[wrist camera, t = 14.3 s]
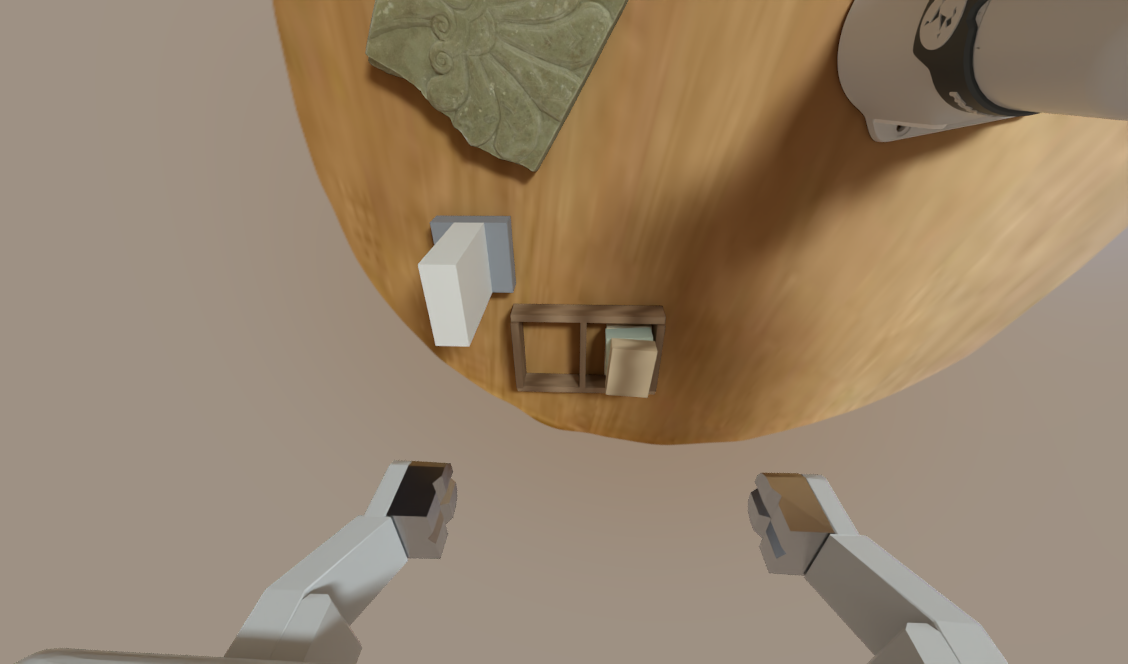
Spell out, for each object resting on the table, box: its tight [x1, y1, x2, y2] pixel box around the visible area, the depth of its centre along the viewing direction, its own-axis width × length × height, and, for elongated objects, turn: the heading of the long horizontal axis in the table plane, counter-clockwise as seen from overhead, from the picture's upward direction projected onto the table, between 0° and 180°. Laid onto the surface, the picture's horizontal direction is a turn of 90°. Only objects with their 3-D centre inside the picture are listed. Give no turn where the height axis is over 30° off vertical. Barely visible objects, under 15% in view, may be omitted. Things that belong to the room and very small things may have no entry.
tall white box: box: [418, 223, 492, 346], centre depth 44 cm, size 4×9×12 cm, turn 0°
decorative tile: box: [366, 0, 628, 172], centre depth 38 cm, size 19×20×4 cm
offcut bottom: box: [604, 323, 652, 375], centre depth 58 cm, size 6×8×2 cm
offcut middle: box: [605, 328, 653, 374], centre depth 56 cm, size 6×8×2 cm
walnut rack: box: [510, 304, 666, 394], centre depth 57 cm, size 20×13×4 cm, turn 91°
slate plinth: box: [430, 216, 516, 293], centre depth 50 cm, size 9×9×2 cm
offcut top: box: [605, 338, 658, 398], centre depth 54 cm, size 6×8×2 cm
